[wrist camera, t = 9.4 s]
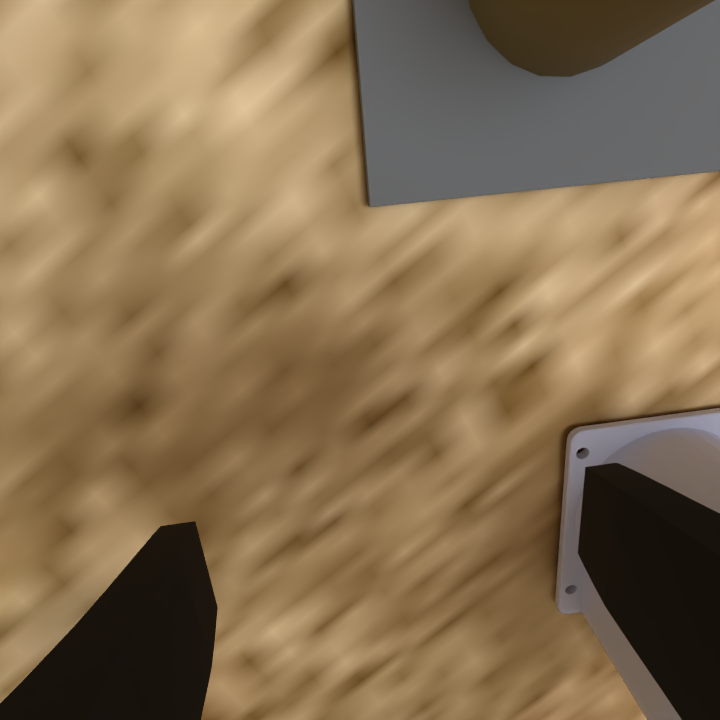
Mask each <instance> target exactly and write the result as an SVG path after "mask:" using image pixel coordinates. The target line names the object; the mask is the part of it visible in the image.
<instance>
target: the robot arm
mask: <svg viewBox="0 0 720 720" xmlns="http://www.w3.org/2000/svg"><path fill="white" fill-rule="evenodd" d="M581 448H584V449H583V451H582V452H581V453H578V454H576V453H577V451H578V450H579V449H581ZM568 586H569V587H568ZM555 603H556V606H557V608H558V610H559V611H560V612H561V613H563V614H572V613H579V612H582V614H583V615H584V617H585V619H586V620H587V622H588V623H589V625H590V627H591V628H592V630H593V632H594V633H595V635H596V637H597V638H598V640H599V641H600V643H601V645H602V646H603V648H604V650H605V651H606V653H607V655H608V656H609V658H610V659H611V661H612V663H613V664H614V666H615V668H616V669H617V671H618V673H619V674H620V676H621V677H622V679H623V681H624V682H625V684H626V686H627V687H628V689H629V691H630V692H631V694H632V695H633V697H634V699H635V700H636V702H637V704H638V705H639V707H640V709H641V710H642V712H643V714H644V715H645V717H646V718H647V720H720V408H715V409H708V410H700V411H693V412H685V413H678V414H670V415H663V416H656V417H648V418H641V419H633V420H626V421H618V422H611V423H603V424H596V425H589V426H581V427H577V428H575V429H573V430H572V431H571V432H570V433H569V435H568V437H567V444H566V458H565V472H564V486H563V500H562V514H561V528H560V542H559V557H558V571H557V585H556V599H555ZM216 618H217V604H216V600H215V596H214V592H213V588H212V584H211V581H210V577H209V573H208V569H207V565H206V561H205V557H204V553H203V550H202V546H201V542H200V538H199V534H198V530H197V526H196V523H195V522H188V523H180V524H173V525H166V526H160V528H159V529H158V530H157V531H156V532H155V533H154V534H153V535H152V537H151V538H150V539H149V540H148V541H147V543H146V544H145V545H144V546H143V547H142V548H141V550H140V551H139V552H138V553H137V554H136V555H135V557H134V558H133V559H132V560H131V561H130V563H129V564H128V565H127V566H126V567H125V568H124V570H123V571H122V572H121V573H120V574H119V576H118V577H117V578H116V579H115V580H114V581H113V583H112V584H111V585H110V586H109V587H108V589H107V590H106V591H105V592H104V593H103V594H102V595H101V597H100V598H99V599H98V600H97V601H96V602H95V603H94V605H93V606H92V607H91V608H90V609H89V610H88V611H87V613H86V614H85V615H84V616H83V617H82V618H81V619H80V621H79V622H78V623H77V624H76V625H75V626H74V627H73V628H72V629H71V630H70V632H69V633H68V634H67V635H66V636H65V637H64V638H63V639H62V640H61V641H60V642H59V643H58V644H57V645H56V646H55V647H54V648H53V650H52V651H51V652H50V653H49V654H48V655H47V656H46V657H45V658H44V659H43V660H42V661H41V662H40V663H39V664H38V665H37V666H36V668H35V669H34V670H33V671H32V672H31V673H30V674H29V675H28V676H27V677H26V678H25V679H24V680H23V681H22V682H21V683H20V684H19V685H18V686H17V687H16V688H15V689H14V690H13V691H12V692H11V693H10V694H9V695H8V696H7V697H6V698H5V699H4V700H3V701H2V702H1V703H0V720H201V716H202V711H203V706H204V702H205V697H206V692H207V687H208V683H209V678H210V673H211V668H212V659H213V650H214V641H215V630H216Z"/></svg>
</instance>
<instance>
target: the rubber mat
mask: <svg viewBox="0 0 720 720" xmlns="http://www.w3.org/2000/svg"><path fill="white" fill-rule="evenodd" d="M352 5H353V17H354V30H355V42H356V55H357V67H358V80H359V93H360V105H361V118H362V130H363V143H364V155H365V168H366V180H367V193H368V205H369V206H370V207H376V206H385V205H395V204H405V203H414V202H424V201H434V200H443V199H453V198H463V197H472V196H482V195H491V194H501V193H511V192H520V191H530V190H540V189H549V188H559V187H569V186H578V185H588V184H598V183H607V182H617V181H627V180H636V179H646V178H655V177H665V176H675V175H684V174H694V173H704V172H713V171H720V0H715V1H713V2H711V3H709V4H708V5H706V6H704V7H703V8H701V9H699V10H697V11H696V12H694V13H692V14H691V15H689V16H687V17H685V18H684V19H682V20H680V21H678V22H677V23H675V24H673V25H672V26H670V27H668V28H666V29H665V30H663V31H661V32H660V33H658V34H656V35H654V36H653V37H651V38H649V39H647V40H646V41H644V42H642V43H641V44H639V45H637V46H635V47H634V48H632V49H630V50H629V51H627V52H625V53H623V54H622V55H620V56H618V57H616V58H615V59H613V60H611V61H610V62H608V63H606V64H604V65H603V66H600V67H598V68H595V69H592V70H589V71H586V72H583V73H580V74H577V75H574V76H572V77H559V76H538V75H536V74H534V73H531V72H529V71H527V70H524V69H522V68H520V67H517V66H515V65H512V64H511V63H510V62H509V61H508V60H507V59H506V58H504V57H503V56H502V55H501V54H500V53H499V52H498V51H497V50H496V49H495V48H494V47H493V46H492V45H491V44H490V43H489V42H488V41H487V39H486V38H485V36H484V34H483V32H482V30H481V28H480V26H479V24H478V22H477V20H476V18H475V16H474V14H473V12H472V11H471V9H470V4H469V0H352Z"/></svg>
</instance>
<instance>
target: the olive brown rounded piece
mask: <svg viewBox="0 0 720 720" xmlns="http://www.w3.org/2000/svg"><path fill="white" fill-rule="evenodd" d="M713 1H715V0H469V4H470V9H471V11H472V12H473V14H474V16H475V18H476V20H477V22H478V24H479V26H480V28H481V30H482V32H483V34H484V36H485V38H486V39H487V41H488V42H489V43H490V44H491V45H492V46H493V47H494V48H495V49H496V50H497V51H498V52H499V53H500V54H501V55H502V56H503V57H504V58H506V59H507V60H508V61H509V62H510V63H511V64H512V65H515V66H517V67H520V68H522V69H524V70H527V71H529V72H531V73H534V74H536V75H538V76H559V77H572V76H574V75H577V74H580V73H583V72H586V71H589V70H592V69H595V68H598V67H600V66H603V65H604V64H606V63H608V62H610V61H611V60H613V59H615V58H616V57H618V56H620V55H622V54H623V53H625V52H627V51H629V50H630V49H632V48H634V47H635V46H637V45H639V44H641V43H642V42H644V41H646V40H647V39H649V38H651V37H653V36H654V35H656V34H658V33H660V32H661V31H663V30H665V29H666V28H668V27H670V26H672V25H673V24H675V23H677V22H678V21H680V20H682V19H684V18H685V17H687V16H689V15H691V14H692V13H694V12H696V11H697V10H699V9H701V8H703V7H704V6H706V5H708V4H709V3H711V2H713Z"/></svg>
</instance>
